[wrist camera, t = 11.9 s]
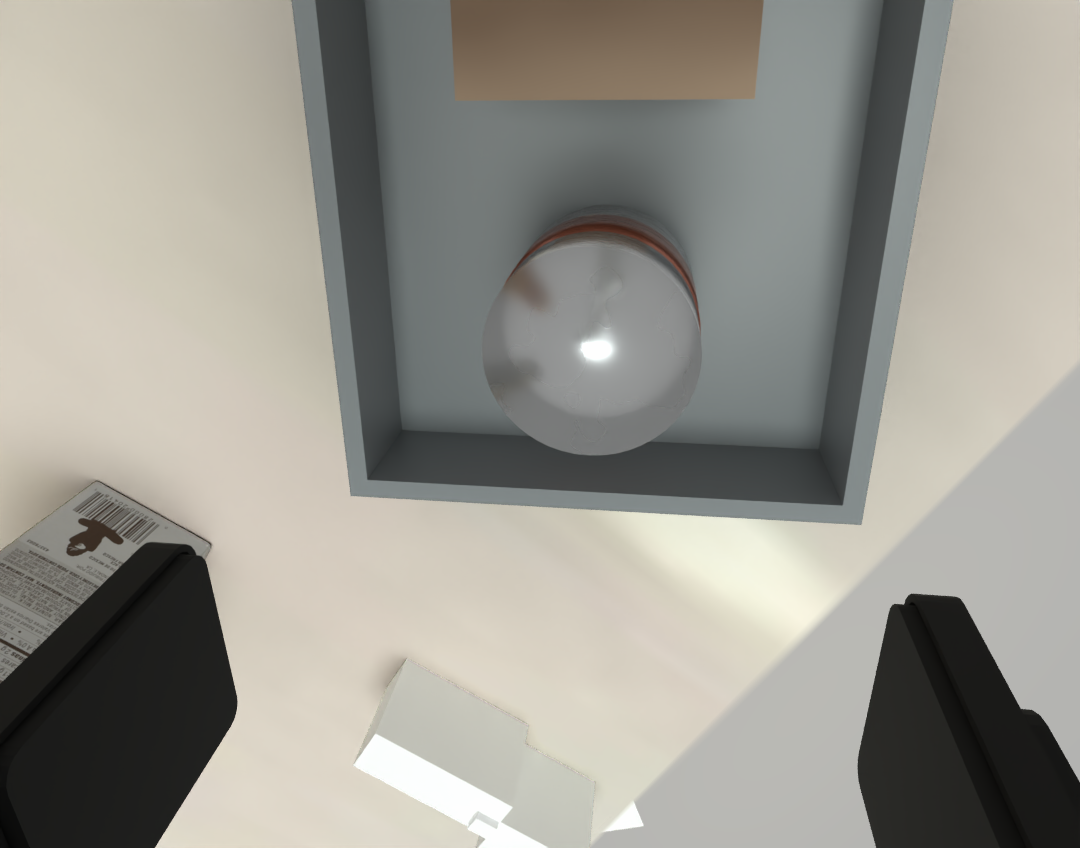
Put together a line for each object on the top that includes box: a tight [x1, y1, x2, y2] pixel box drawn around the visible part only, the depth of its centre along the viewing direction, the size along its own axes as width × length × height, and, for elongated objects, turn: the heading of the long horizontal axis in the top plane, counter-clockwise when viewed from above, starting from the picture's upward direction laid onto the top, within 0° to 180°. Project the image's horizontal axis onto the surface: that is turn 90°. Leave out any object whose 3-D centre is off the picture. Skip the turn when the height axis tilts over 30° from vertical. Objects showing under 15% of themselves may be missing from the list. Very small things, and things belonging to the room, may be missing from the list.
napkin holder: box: [353, 658, 644, 848], centre depth 38 cm, size 15×11×6 cm
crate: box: [292, 0, 953, 525], centre depth 26 cm, size 22×18×5 cm
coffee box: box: [0, 481, 211, 683], centre depth 32 cm, size 9×6×16 cm
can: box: [482, 205, 702, 455], centre depth 27 cm, size 6×6×7 cm
